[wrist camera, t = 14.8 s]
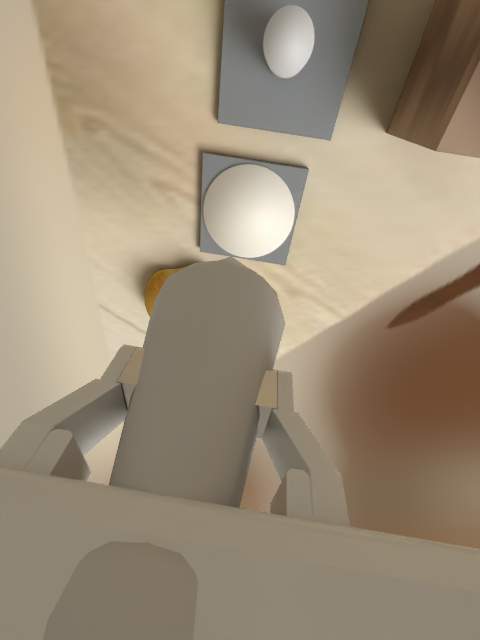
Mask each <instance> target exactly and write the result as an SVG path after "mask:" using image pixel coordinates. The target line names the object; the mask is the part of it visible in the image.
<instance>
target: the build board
mask: <svg viewBox="0 0 480 640" xmlns="http://www.w3.org/2000/svg"><path fill="white" fill-rule="evenodd" d="M308 170H309V169H308V168H304V167H298V166H291V165H285V164H279V163H272V162H266V161H259V160H253V159H247V158H240V157H234V156H227V155H221V154H215V153H208V152H204V153H203V165H202V198H201V231H200V252H206V253H212V254H218V255H224V256H231V257H237V258H243V259H249V260H255V261H262V262H268V263H274V264H280V265H285V264H286V260H287V256H288V252H289V248H290V244H291V240H292V236H293V231H294V227H295V223H296V219H297V215H298V211H299V207H300V203H301V199H302V195H303V191H304V187H305V183H306V179H307V175H308Z"/></svg>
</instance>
